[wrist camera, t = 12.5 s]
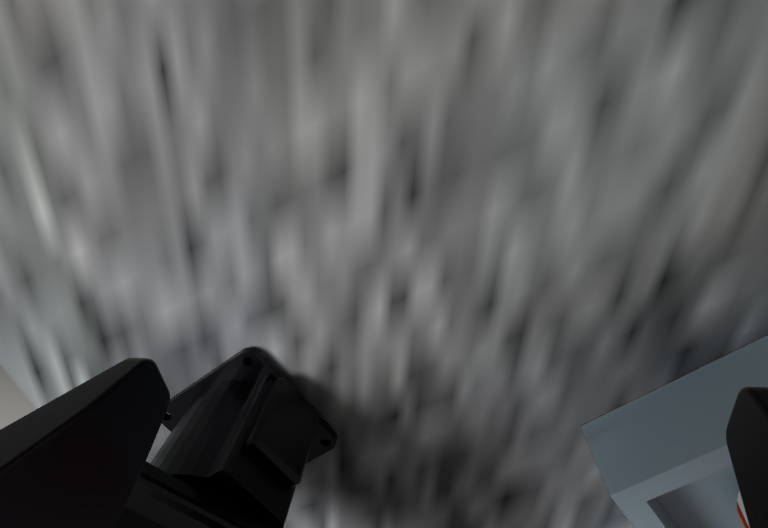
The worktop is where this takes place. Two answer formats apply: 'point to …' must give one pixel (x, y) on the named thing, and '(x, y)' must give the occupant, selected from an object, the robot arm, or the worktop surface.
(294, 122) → the worktop surface
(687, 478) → the bin
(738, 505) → the soda can
